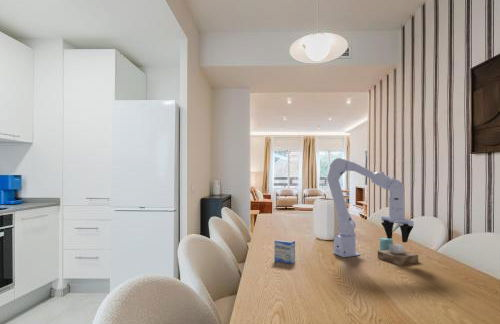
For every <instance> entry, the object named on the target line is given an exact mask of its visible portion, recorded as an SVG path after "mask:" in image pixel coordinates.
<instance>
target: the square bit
mask: <svg viewBox="0 0 500 324" xmlns="http://www.w3.org/2000/svg"><path fill="white" fill-rule="evenodd" d="M389 246H390V253H393V254H396V255H402V254H404V251H405V245H403V244H399V243H393V244H391V245H389Z"/></svg>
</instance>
